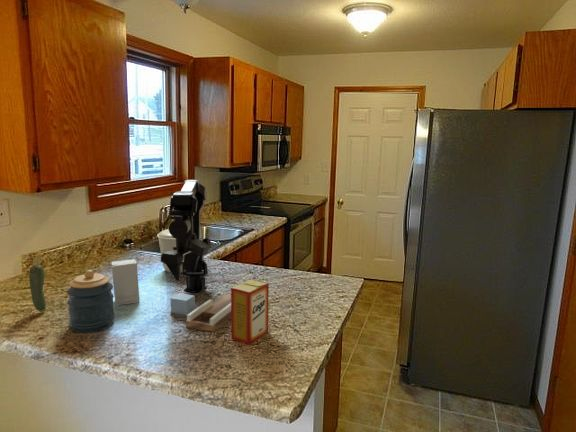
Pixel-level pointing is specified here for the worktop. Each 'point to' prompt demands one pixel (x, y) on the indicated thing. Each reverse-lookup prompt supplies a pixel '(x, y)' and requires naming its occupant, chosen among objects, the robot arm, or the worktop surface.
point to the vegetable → (37, 284)
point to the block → (182, 304)
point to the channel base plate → (211, 315)
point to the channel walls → (205, 307)
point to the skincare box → (125, 282)
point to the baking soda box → (249, 311)
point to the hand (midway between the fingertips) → (185, 276)
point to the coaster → (178, 315)
